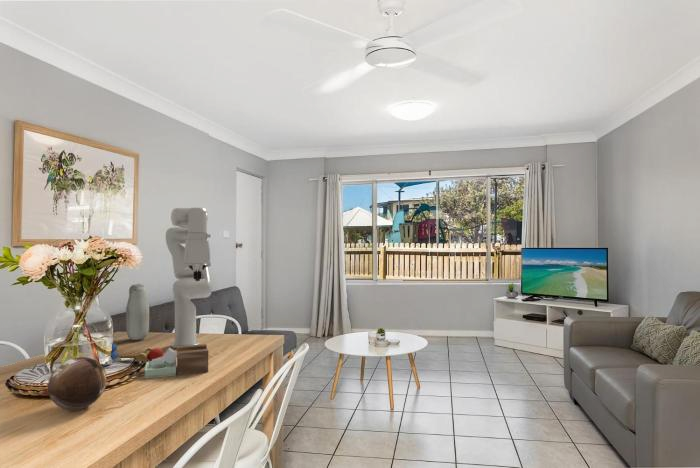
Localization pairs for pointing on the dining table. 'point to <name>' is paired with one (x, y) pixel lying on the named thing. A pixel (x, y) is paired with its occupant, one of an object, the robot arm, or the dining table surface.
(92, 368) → the wooden sphere
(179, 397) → the dining table surface
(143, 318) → the grey bottle vase
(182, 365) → the slot block
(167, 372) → the tray
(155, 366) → the chip
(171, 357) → the chip
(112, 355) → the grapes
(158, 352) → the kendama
